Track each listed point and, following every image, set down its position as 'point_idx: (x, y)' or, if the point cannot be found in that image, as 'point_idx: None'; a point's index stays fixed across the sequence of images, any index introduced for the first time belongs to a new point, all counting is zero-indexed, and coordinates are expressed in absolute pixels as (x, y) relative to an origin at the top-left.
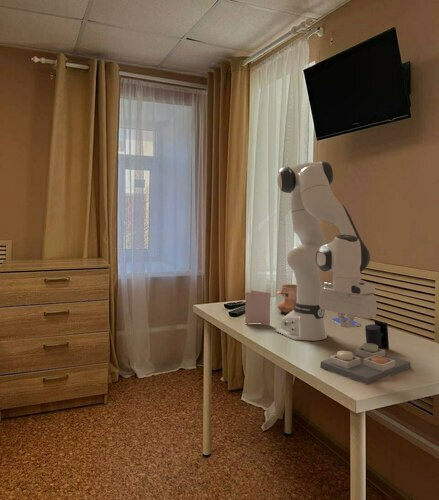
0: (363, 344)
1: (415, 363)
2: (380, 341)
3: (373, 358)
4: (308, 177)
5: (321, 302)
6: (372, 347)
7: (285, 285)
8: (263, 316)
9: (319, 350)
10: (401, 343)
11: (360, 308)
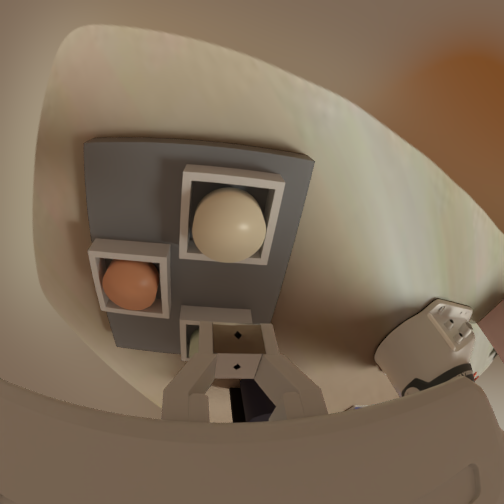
0: None
1: (134, 358)
2: (242, 396)
3: (142, 281)
4: None
5: (482, 414)
6: (195, 345)
7: None
8: (494, 327)
9: (369, 288)
10: (229, 412)
11: (9, 467)
